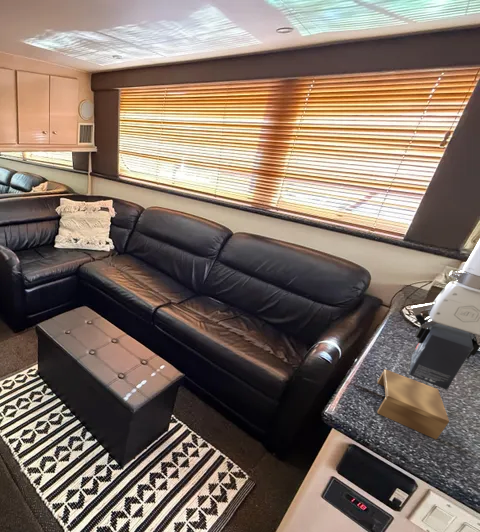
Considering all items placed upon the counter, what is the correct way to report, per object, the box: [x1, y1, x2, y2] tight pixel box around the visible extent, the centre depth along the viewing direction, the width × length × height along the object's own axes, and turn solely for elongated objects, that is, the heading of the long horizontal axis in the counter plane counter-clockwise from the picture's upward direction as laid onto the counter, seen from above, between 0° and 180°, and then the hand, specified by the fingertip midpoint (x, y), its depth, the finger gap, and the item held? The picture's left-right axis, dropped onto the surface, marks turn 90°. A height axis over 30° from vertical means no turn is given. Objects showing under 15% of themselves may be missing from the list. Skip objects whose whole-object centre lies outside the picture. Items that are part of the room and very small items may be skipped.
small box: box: [408, 323, 474, 391], centre depth 78 cm, size 13×7×12 cm, turn 133°
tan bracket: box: [377, 368, 450, 440], centre depth 84 cm, size 11×15×6 cm
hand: (441, 347), depth 78 cm, fingers closed on small box, 7 cm apart
